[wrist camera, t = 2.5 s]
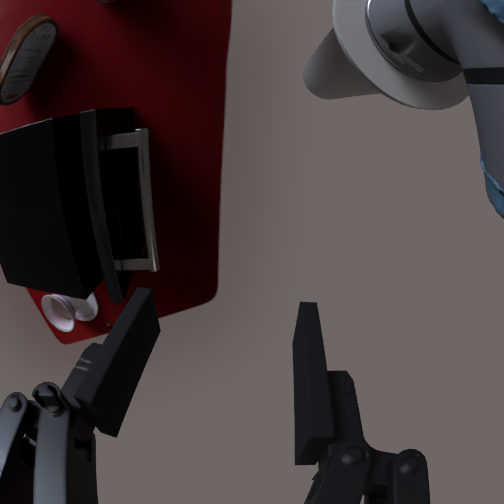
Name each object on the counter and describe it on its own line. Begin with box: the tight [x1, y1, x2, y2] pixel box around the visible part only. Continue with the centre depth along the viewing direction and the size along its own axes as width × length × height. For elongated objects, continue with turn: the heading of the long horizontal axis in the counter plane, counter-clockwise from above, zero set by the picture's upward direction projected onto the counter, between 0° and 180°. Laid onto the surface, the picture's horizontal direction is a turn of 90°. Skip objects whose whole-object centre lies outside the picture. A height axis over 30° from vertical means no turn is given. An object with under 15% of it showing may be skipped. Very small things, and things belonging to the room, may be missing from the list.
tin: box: [0, 14, 59, 105], centre depth 23 cm, size 15×3×8 cm, turn 138°
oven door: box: [80, 107, 160, 302], centre depth 30 cm, size 6×20×14 cm, turn 177°
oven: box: [0, 114, 104, 300], centre depth 30 cm, size 16×20×14 cm
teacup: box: [42, 292, 98, 332], centre depth 45 cm, size 12×12×6 cm
